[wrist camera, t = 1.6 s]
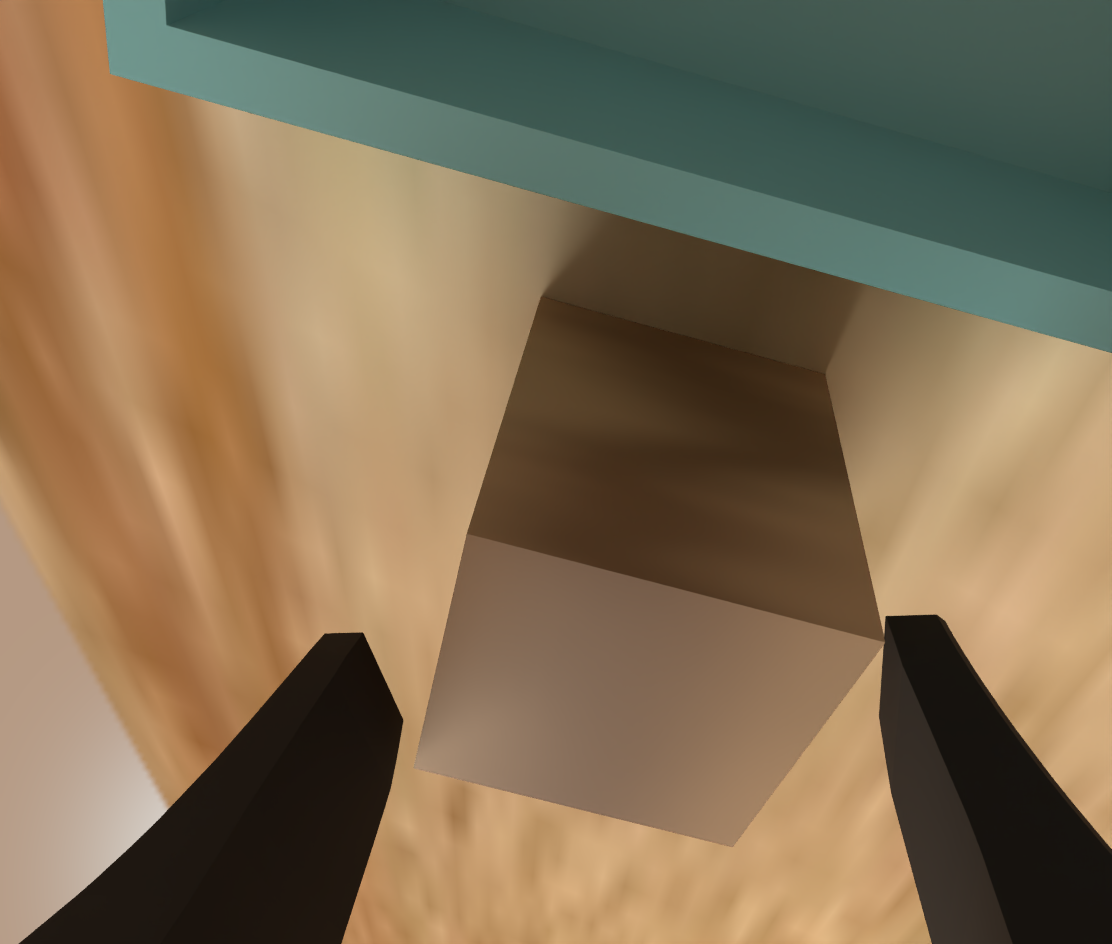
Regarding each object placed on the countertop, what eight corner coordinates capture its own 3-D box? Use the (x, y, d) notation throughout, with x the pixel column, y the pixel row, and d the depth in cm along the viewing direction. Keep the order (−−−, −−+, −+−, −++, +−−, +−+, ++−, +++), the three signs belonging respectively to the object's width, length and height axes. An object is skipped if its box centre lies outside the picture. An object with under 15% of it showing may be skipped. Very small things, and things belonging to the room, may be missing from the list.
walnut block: (824, 372, 15) (885, 642, 10) (723, 570, 18) (733, 847, 13) (541, 295, 14) (467, 533, 10) (489, 509, 18) (413, 768, 13)
